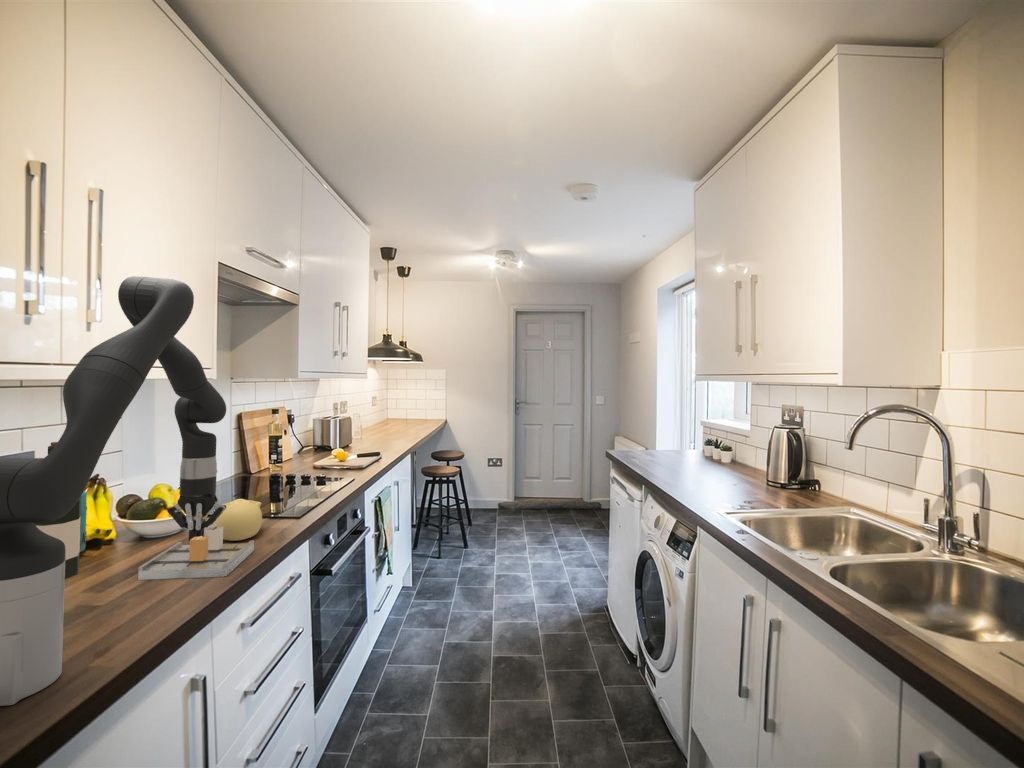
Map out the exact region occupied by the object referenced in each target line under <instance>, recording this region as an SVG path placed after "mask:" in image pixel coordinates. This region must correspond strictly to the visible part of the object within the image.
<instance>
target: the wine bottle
mask: <svg viewBox="0 0 1024 768" xmlns="http://www.w3.org/2000/svg"><path fill="white" fill-rule="evenodd" d="M57 443H58V441H52V442H50V445H49V446H47V455H48V454H49V453H50V452H51V451H52V450H53V448H54V447H55V446H56V444H57ZM80 518H81V497H80V499H79V500H78V501H77V503H76V504H75V505H74V507H73V508H72V509H71V510H70V511H69V512H68V513H67V514H66V515H64V516H63V517H61V518H59V519H57V520H55V521H51V522H42V523H34V524H35V525H36V527H37V528H38V529H40V530H41V531H42V532H44V533H46V534H48V535H50V536H52V537H55V538H57V539H59V540H61V541H62V542H63V543H64V544H65V550H66V552H65V580H66V579H68V578H71V577H73V576H76V575H78V573H79V570H80V552H79V551H80Z"/></svg>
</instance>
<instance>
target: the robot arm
mask: <svg viewBox="0 0 1024 768" xmlns="http://www.w3.org/2000/svg"><path fill="white" fill-rule="evenodd" d="M117 292H118V293H117V297H118V302H119V303H118V304H119V305H120V309H121V310H122V312H123V314H124V316H125V317H126V319H127V320H128V321H129V323H130V324H131V326H132V327H130V328H128V329H126V330H125V331H123V332H121V333H119V334H116V335H115V336H112V337H111V338H108V339H107V340H105V341H103V342H101V343H99V344H97V345H95V346H94V347H92V348H91V349H90V350H89V351H87V352H86V353H85V355H83V357H82V358H81V359H80V360H79V361H78V363H77V364H76V366H74V368H73V370H72V371H71V372H70V373H69V374H68V376H67V378H66V380H65V381H64V384H63V388H62V400H63V405H64V410H65V414H66V415H65V416H66V425H65V429H64V431H63V433H62V434H61V436H60V438H59V440H58V441H57V442H58V443H57V444H56V446H55V447H54V448H53V450H52V451H51V452H50V453H49V454H48V453H47V454H46V455H45V457H3V458H0V707H3V706H5V707H6V706H13V705H15V704H17V703H18V702H19V701H21V700H22V699H24V698H27V697H29V696H31V695H34V694H36V693H38V692H40V691H42V690H44V689H45V688H47V687H48V686H50V685H52V684H53V683H54V682H55V681H57V680H58V678H60V676H61V675H62V671H63V670H62V669H63V648H64V647H63V644H64V643H63V640H64V639H63V638H64V609H65V608H64V607H65V605H64V604H65V580H66V579H65V552H66V550H65V544H64V543H63V542H62V541H61V540H59V539H57V538H55V537H52V536H50V535H48V534H46V533H44V532H42V531H41V530H40V529H38V528H37V527H36V525H35V524H34V523H42V522H51V521H55V520H57V519H59V518H61V517H63V516H64V515H66V514H67V513H68V512H69V511H70V510H71V509H72V508H73V507H74V505H75V504H76V503H77V501H78V500H79V499H80V497H81V495H82V493H83V492H84V491H85V489H86V488H87V486H88V483H89V481H90V479H91V478H92V475H93V473H94V471H95V468H96V466H97V464H98V462H99V460H100V457H101V456H102V453H103V452H104V449H105V447H106V445H107V443H108V441H109V440H110V437H111V436H112V434H113V432H114V431H115V429H116V427H117V425H118V423H119V421H120V420H121V418H122V417H123V415H124V413H126V412H125V411H126V410H127V409H128V407H129V405H131V403H132V401H133V400H134V399H135V397H136V395H137V393H138V392H139V390H140V389H141V387H142V386H143V384H144V382H145V381H146V378H147V376H148V375H149V373H150V371H151V369H152V368H153V366H154V365H155V363H156V362H157V361H159V364H160V365H161V367H162V368H163V371H164V372H165V375H166V377H167V379H168V382H169V384H170V385H171V388H172V390H173V393H174V394H176V395H177V396H178V397H179V398H178V399H177V401H176V402H175V405H174V416H175V420H176V422H177V425H178V428H179V432H180V437H181V441H182V448H181V462H180V467H179V470H180V471H179V498H178V499H177V503H176V504H174V505H173V506H171V507H170V506H169V508H168V509H167V510H166V511H167V513H168V514H169V515H170V516H171V518H172V520H174V521H175V522H176V523H177V524H178V526H179V528H182V529H183V528H185V529H187V530H188V542H189V544H190V539H192V538H194V537H200V536H202V537H205V528H208V527H211V525H213V524H215V520H216V519H217V518H218V517H219V516H220V515H221V514H222V513H223V511H224V510H225V509H226V505H223V504H221V503H220V502H219V501H218V497H217V495H216V492H217V474H218V469H217V468H218V463H217V436H216V435H215V433H213V432H209V431H205V430H201V429H200V428H199V426H198V424H217V423H219V422H220V421H222V420H223V419H224V418H225V416H226V414H227V404H226V402H225V399H224V398H223V396H222V395H221V394H220V393H219V392H218V390H217V389H216V388H215V386H213V384H211V382H210V381H208V378H207V376H206V373H205V370H204V368H203V366H202V362H201V361H200V360H199V358H198V357H197V356H196V355H195V354H194V352H192V350H190V349H189V347H187V346H186V345H185V344H183V342H181V341H180V340H178V339H177V337H175V336H176V335H177V334H178V333H179V331H180V330H181V328H183V326H184V325H185V324H186V322H187V320H188V319H189V317H190V315H191V314H192V312H193V309H194V301H195V296H194V292H193V290H192V288H191V287H190V286H189V285H188V284H187V283H185V282H184V281H180V280H177V279H172V278H171V279H170V278H162V277H150V276H130V277H126V278H125V279H124V280H123V281H122V282H121V283H120V285H119V288H118V291H117ZM211 510H212V512H213V513H212V514H211V515H210V516H209V517H208V515H209V512H210V511H211ZM207 518H208V519H207Z"/></svg>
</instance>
